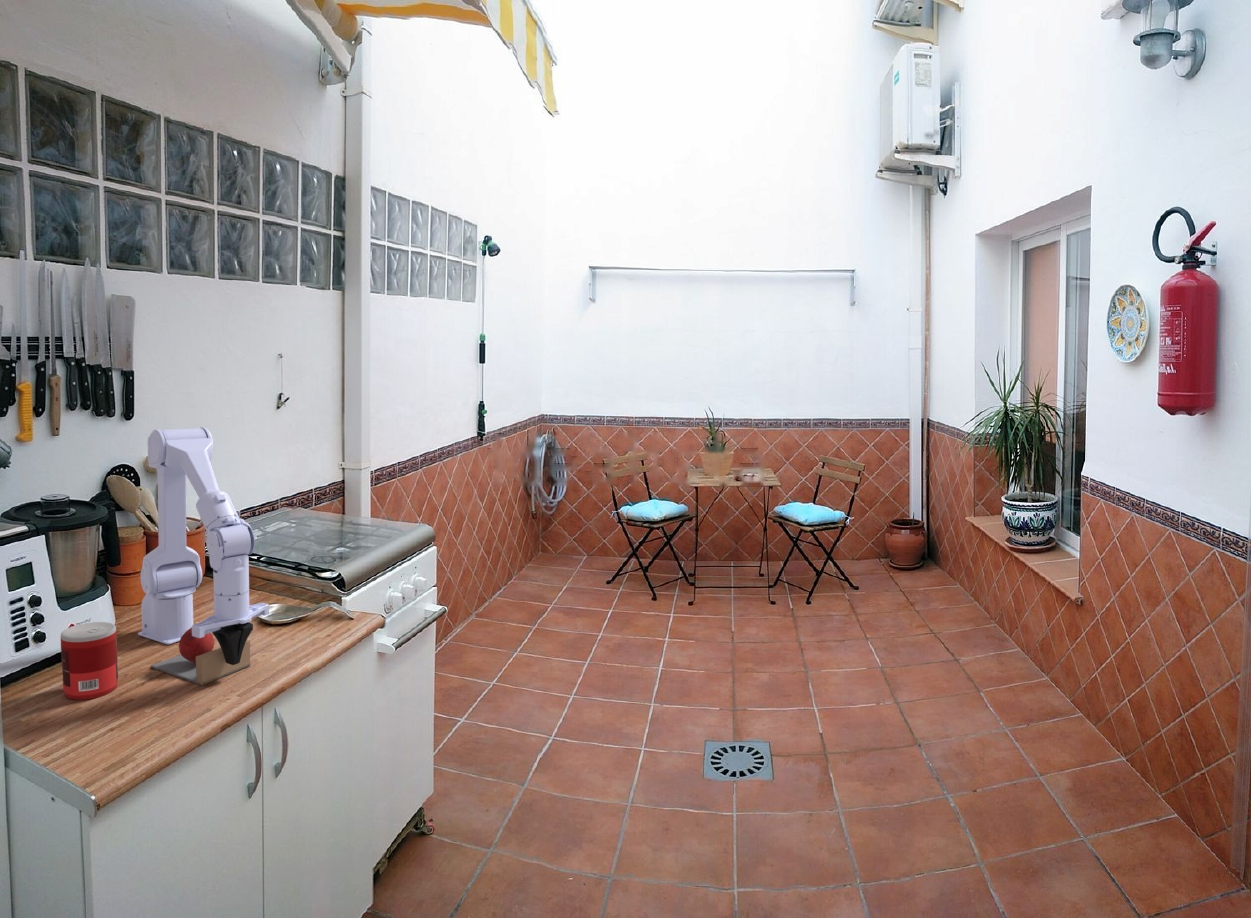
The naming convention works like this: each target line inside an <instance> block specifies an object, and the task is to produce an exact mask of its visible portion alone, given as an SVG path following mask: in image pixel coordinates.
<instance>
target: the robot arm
mask: <svg viewBox="0 0 1251 918" xmlns="http://www.w3.org/2000/svg"><path fill="white" fill-rule="evenodd" d="M214 447H215V446H214V438H213V435H212V433H211V431H210V430H209V429H208V428H207V427H204V426H201V427H195V428H193V427H192V428H191V427H190V428H175V429H173V428H171V429H158V428H157V429H154V430H152V431H151V432H150V434H149V436H148V438H147V462H148V467H149V468H153V469H156V473H157V508H158V509H157V515H158V517H157V522H158V524H157V527H158V533H157V535H158V546H157V547H156V548H154V549H153V550H151V551H150V552H148V553H147V554H146V555H145V556H143V560H142V567H141V571H140V577H139V578H140V584H141V588H142V591H143V592H144V593H145V595H144V596H143V598H142V601H141V604H140V605H141V609H140V610H141V631H139V632H138V633H137V635H138V636H141V637H143V638H146V639H149V640H152V641H156V642H158V643H161V644H164V645H171V644H175V643H176V642H178V643H179V641H180V639H181V637H182V635H183V634H184V633H185V632H186V631H187V630H188V629H190V628H191V627H192V636H194V637H197V638H202V637H204V636H205V634H208V633H211V634H212V636H213V637H215V639H216V640H217V642H218V644H219V646H220V648H221V649H222V651H223V654H224V657H225V661H226V663H228V664H231V665H235V664H238V663H240V659H241V655H242V652H243V648H244V645H245V643H246V640H248V639H249V636H250V635H251V633H252V632H253V630H254V624H253V623H251V622H252V619H255V618H257V617H261V616H267V615H270V604H268V603H264V602H258V603H255V604H250V573H249V572H250V570H249V569H250V566H249V564H250V563H249V559H250V558H249V557H250V556H249V555H252V554H253V553H254V550H255V548H256V547H255V546H256V539H255V534H254V530H253V527H251V525H250V524H249V523H248V522H246V521H245V520H244V519H243V518H240V516H239V514H238V512H237V510H236V507H235V506H234V504H233V502H232V501H233V500H232V499H231V497H230V495H229V494H228V493H227V492H225V491H223V490H221V489H220V487H219V484H218V481H217V478H216V474H215V472H214V469H213V466H212V463H211V461H212V458H213V452H214ZM187 479H188V481H189V482H190V484H191V486H192V487H193V489H194V492H195V493H196V494H197V496H198V500H197V501H196V503H195V508H196V510H197V512H198V515H199V517H200V520H201V522H202V524H203V526H204V529H205V531H206V534H207V536H206V541H205V543H206V549H207V552H208V553H207V554H208V558H209V565H210V568H211V569H212V570H213V571H212V575H213V580H212V581H213V614H212V615H210V616H208V617H207V618H205V619H203V620H201V621H200V622H199V621H198V622H199V623H197V624H195V625H193V624H194V601H193V600H194V599H193V597H194V596H193V593H197V592H196V591H197V590H196V589H197V588H198V587H199V586H200V585H201V583H202V580H203V569H202V565H201V558H200V555H199V554H198V552H197V551H196V550H195V549H193V548H192V547H189V546H187Z"/></svg>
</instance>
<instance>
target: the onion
mask: <svg viewBox="0 0 1251 918" xmlns="http://www.w3.org/2000/svg"><path fill="white" fill-rule="evenodd" d="M197 623H199V621H196V622H193V625H195V624H197ZM214 648H215V638H214V635H213V633H212V632H211V633H208V634H205V636H204V637H202V638H197V637H194V636H192V627H191V628H190V629H188V630H187V631H186V632H185V633H184V634H183V635H182V637H181V639H180V641H178V650H179V655H182V656H183V657H184V658H185V659H187V660H188V661H191V662H193V663H196V656H199V655H202V654H205V653H207V652H210V651H213V650H214Z"/></svg>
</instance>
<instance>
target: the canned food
mask: <svg viewBox="0 0 1251 918" xmlns="http://www.w3.org/2000/svg"><path fill="white" fill-rule="evenodd" d="M117 638H118V635H117V627H116V625H115V624H114V623H111V622H104V621H96V622H95V621H93V622H86V623H81V624H76V625H73V626H70V627H68V628H66V629H64V630H63V631H61V633H60V655H61V670H62V671H61V672H62V690H63V693H64V696H65V697H66V698H68V699H70V700H76V701H77V700H80V701H81V700H82V701H83V700H93V699H96V698H100V697H103V696H106V695H109V694H110V693H112V692H113V691H115V690H116V689H117V687H118V683H119V667H118V666H119V662H118V639H117Z"/></svg>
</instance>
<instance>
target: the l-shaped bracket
mask: <svg viewBox="0 0 1251 918" xmlns="http://www.w3.org/2000/svg"><path fill="white" fill-rule="evenodd" d="M150 667H151V668H152V669H154V670H157V671H160V672H163V673H166V674H169V675H172V676H174V677H178V678H180V679H183V680H186V681H189V682H192V683H195V684H197V685H200V686H205V685H207V684H210V683H213V682H215V681H216V680H219V679H222V678H224V677H226V676H227V677H228V676H230V675H231V674H234V673H237V672H239V671H241V670H244V669H247V668H249V667H251V641H250V640H249V639H247V640H246V643H245V645H244V648H243V652H242V655H241V659H240V663H238V664H235V665H231V664H228V663H226V661H225V657H224V654H223V651H222V649H221V647H218V648H216V649H213V650H212V651H210V652H207V653H205V654H202V655H199V656H196V663H193V662H191V661H188V660H187V659H185V658H184V657H183V656H182V655H181V654H179V655H176V656H173V657H171V658H168V659H165V660H163V661H160V662H156V663H154V664H151V665H150Z"/></svg>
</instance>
